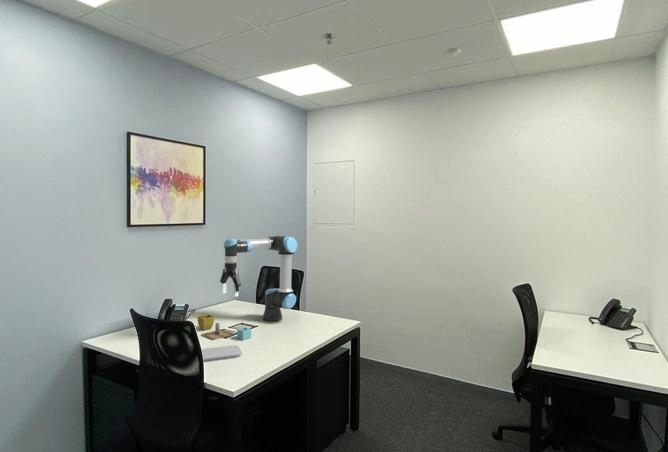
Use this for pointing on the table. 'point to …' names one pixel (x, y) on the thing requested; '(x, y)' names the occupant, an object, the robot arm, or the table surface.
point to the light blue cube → (244, 333)
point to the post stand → (217, 333)
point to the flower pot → (205, 321)
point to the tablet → (221, 353)
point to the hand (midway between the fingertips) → (230, 294)
